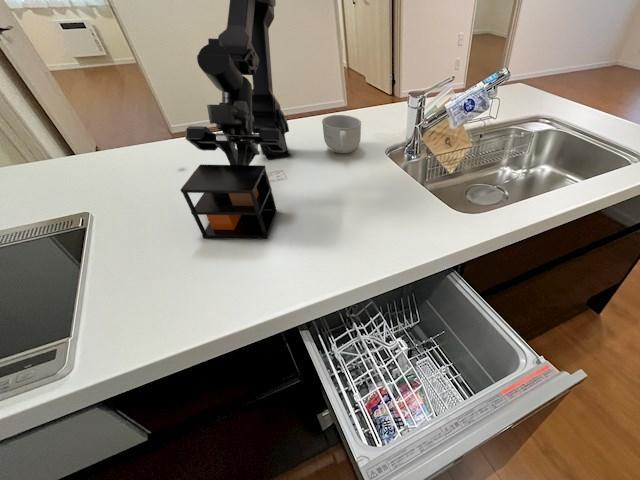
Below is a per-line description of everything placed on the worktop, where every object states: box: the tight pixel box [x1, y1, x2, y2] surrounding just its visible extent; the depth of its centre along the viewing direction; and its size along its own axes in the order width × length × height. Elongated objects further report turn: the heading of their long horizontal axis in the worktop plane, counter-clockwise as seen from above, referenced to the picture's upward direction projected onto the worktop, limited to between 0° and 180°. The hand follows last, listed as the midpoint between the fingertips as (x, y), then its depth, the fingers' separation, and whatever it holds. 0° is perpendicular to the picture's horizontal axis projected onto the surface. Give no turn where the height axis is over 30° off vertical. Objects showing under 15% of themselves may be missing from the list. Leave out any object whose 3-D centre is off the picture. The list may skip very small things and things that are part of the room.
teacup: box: [321, 114, 362, 154], centre depth 98 cm, size 14×11×8 cm
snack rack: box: [180, 164, 278, 240], centre depth 71 cm, size 10×13×11 cm
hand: (238, 180), depth 73 cm, fingers closed, pressing on snack rack
